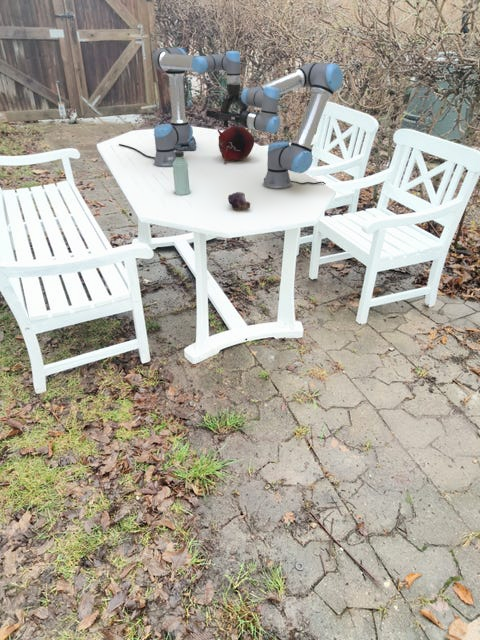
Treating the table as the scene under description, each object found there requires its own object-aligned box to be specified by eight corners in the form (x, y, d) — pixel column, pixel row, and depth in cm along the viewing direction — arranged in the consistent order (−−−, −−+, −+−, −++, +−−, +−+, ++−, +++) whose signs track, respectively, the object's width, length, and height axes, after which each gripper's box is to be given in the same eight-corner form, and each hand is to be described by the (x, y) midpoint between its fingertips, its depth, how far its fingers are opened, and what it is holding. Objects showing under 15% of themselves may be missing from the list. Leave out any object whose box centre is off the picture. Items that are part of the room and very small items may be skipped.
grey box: (196, 150, 320) (194, 121, 309) (171, 151, 319) (168, 122, 308) (196, 145, 335) (194, 116, 324) (172, 145, 334) (169, 117, 322)
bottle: (174, 194, 244) (170, 154, 232) (176, 190, 251) (172, 151, 239) (188, 194, 244) (185, 154, 232) (190, 190, 251) (187, 150, 239)
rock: (241, 205, 233) (224, 208, 228) (240, 189, 229) (223, 191, 225) (252, 209, 223) (235, 212, 219) (252, 191, 219) (234, 194, 215)
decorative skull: (215, 132, 306) (215, 129, 282) (249, 124, 305) (251, 121, 281) (222, 164, 313) (222, 164, 289) (255, 157, 312) (258, 156, 288)
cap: (174, 157, 235) (174, 153, 233) (175, 155, 238) (175, 151, 237) (183, 157, 234) (182, 153, 233) (184, 155, 238) (183, 151, 237)
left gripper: (222, 86, 238) (223, 129, 250) (253, 82, 253) (253, 122, 265) (212, 85, 242) (214, 127, 254) (243, 80, 257) (243, 120, 269)
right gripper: (235, 128, 212) (199, 121, 221) (261, 128, 231) (227, 121, 240) (237, 111, 208) (200, 104, 217) (263, 112, 228) (228, 106, 237)
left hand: (234, 125), depth 259 cm, fingers open, 13 cm apart
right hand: (214, 113), depth 229 cm, fingers open, 13 cm apart
